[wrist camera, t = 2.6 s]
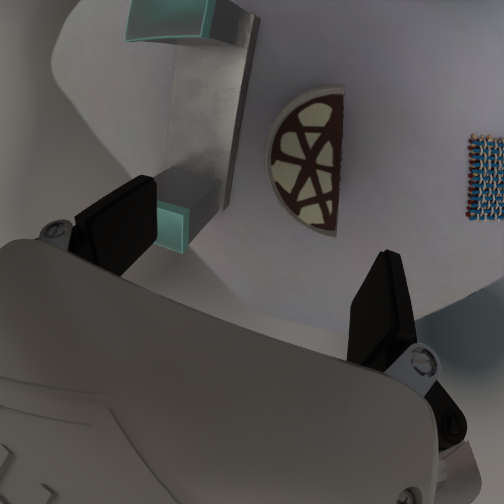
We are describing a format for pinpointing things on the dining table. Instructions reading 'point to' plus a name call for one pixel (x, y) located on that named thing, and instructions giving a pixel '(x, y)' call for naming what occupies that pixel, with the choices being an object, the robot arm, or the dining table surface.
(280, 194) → the food container
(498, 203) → the woven mat
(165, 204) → the mounted module
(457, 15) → the dining table surface
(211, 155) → the rail
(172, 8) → the block
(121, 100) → the dining table surface
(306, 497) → the robot arm
